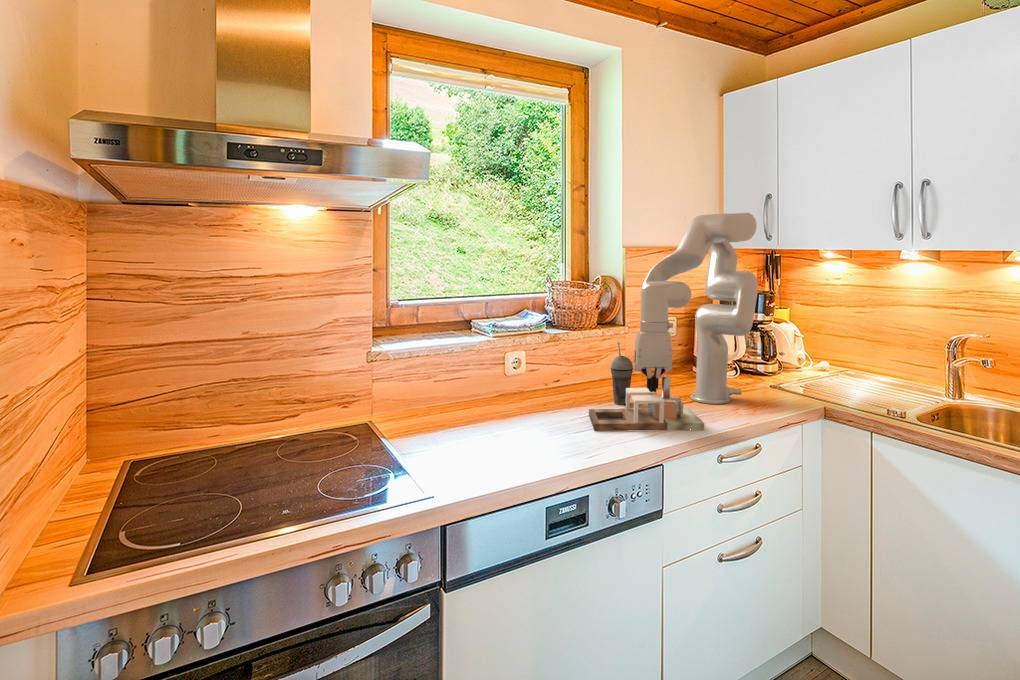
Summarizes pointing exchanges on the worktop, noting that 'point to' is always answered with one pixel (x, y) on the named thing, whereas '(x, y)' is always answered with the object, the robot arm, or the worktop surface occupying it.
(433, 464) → the worktop surface
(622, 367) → the beverage cup
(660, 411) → the toy bench
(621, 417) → the board
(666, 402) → the block
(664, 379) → the slider
